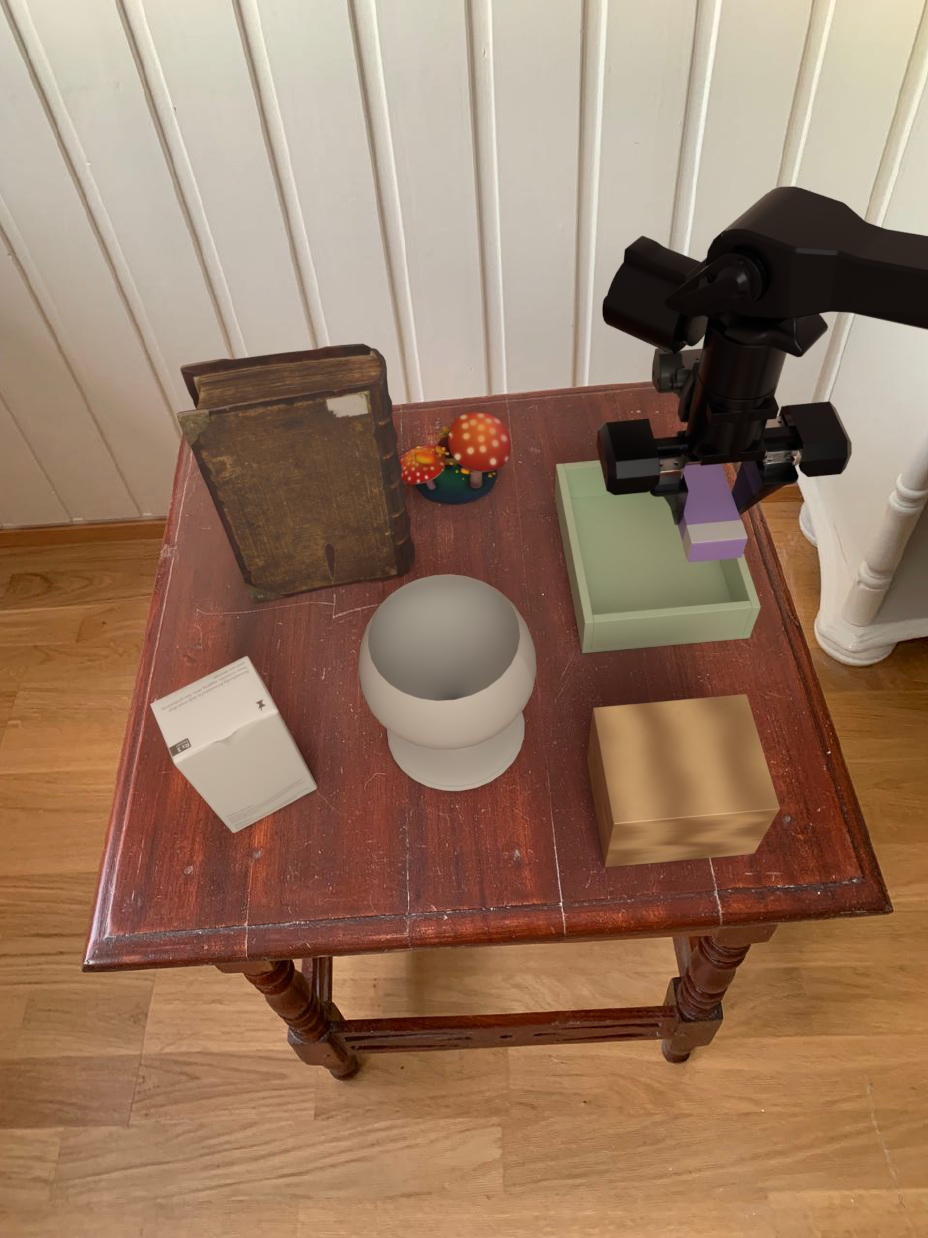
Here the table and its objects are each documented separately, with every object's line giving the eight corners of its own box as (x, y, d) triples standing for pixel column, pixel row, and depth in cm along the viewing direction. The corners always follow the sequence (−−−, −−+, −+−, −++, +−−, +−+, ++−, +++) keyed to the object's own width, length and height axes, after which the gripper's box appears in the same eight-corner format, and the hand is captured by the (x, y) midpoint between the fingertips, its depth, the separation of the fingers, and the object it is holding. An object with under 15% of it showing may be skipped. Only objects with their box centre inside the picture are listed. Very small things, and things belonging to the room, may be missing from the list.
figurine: (506, 439, 100) (505, 379, 93) (514, 501, 95) (513, 442, 88) (399, 448, 100) (389, 388, 93) (400, 511, 95) (391, 452, 88)
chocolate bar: (716, 480, 80) (721, 460, 78) (742, 558, 75) (748, 538, 73) (665, 485, 80) (669, 465, 78) (687, 563, 75) (691, 543, 73)
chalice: (556, 688, 82) (562, 589, 69) (502, 826, 74) (497, 742, 62) (415, 644, 85) (397, 542, 73) (350, 771, 78) (318, 682, 66)
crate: (725, 746, 77) (746, 693, 70) (754, 854, 72) (780, 809, 65) (586, 759, 77) (592, 707, 70) (604, 867, 72) (613, 824, 65)
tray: (702, 484, 95) (710, 449, 91) (749, 638, 84) (761, 606, 79) (554, 497, 95) (555, 463, 91) (582, 653, 84) (585, 622, 80)
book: (416, 538, 93) (385, 337, 72) (418, 593, 89) (385, 396, 68) (254, 551, 93) (178, 354, 73) (249, 607, 89) (166, 415, 68)
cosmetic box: (293, 739, 80) (251, 647, 68) (320, 793, 77) (282, 707, 65) (204, 783, 78) (145, 698, 66) (229, 841, 75) (172, 762, 63)
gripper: (833, 293, 69) (785, 442, 82) (591, 316, 69) (581, 461, 82) (882, 390, 63) (822, 535, 76) (616, 415, 63) (601, 556, 76)
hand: (703, 518), depth 78 cm, fingers closed on chocolate bar, 4 cm apart
